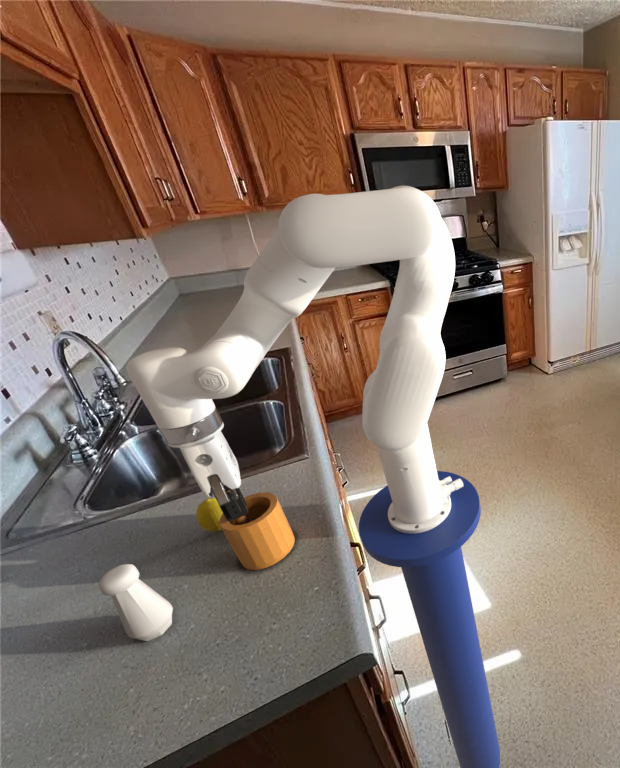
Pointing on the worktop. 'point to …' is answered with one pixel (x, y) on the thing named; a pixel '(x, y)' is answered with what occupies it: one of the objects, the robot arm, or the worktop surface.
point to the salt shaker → (136, 603)
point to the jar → (260, 533)
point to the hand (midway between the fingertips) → (237, 512)
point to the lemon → (209, 515)
